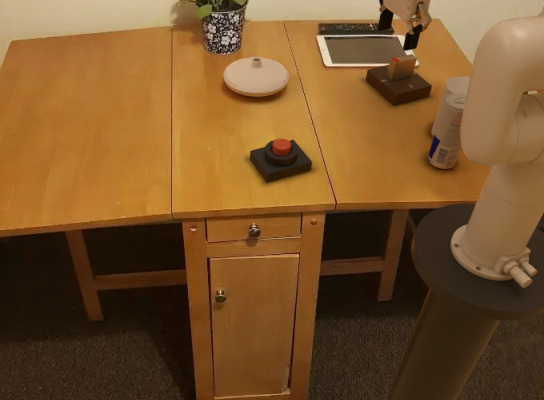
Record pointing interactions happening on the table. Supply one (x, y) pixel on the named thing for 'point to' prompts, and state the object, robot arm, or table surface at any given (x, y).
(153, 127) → the table surface
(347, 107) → the table surface
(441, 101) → the cup
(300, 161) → the box
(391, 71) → the block
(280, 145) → the release button
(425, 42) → the table surface
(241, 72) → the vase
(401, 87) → the plate
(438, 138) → the beverage can
